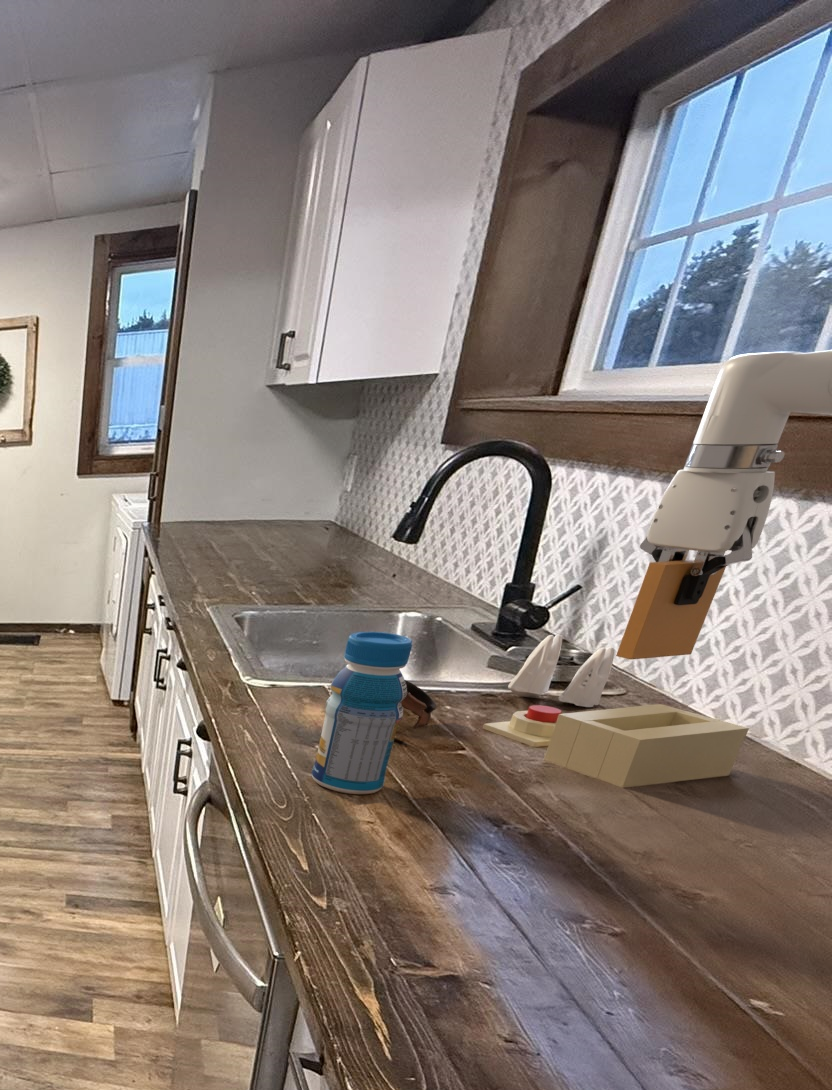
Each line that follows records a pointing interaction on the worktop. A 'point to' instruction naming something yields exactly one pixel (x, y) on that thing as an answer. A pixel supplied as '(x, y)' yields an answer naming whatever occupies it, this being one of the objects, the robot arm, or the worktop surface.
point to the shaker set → (581, 688)
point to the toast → (665, 614)
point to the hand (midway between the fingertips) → (674, 601)
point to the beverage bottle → (363, 714)
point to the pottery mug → (418, 704)
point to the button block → (523, 729)
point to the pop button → (543, 713)
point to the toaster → (644, 745)
